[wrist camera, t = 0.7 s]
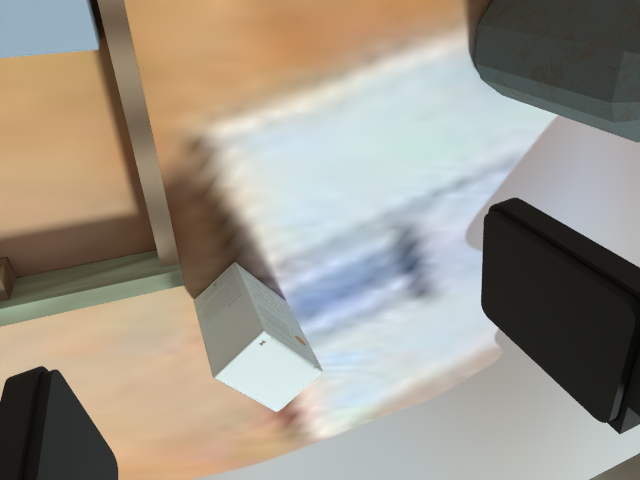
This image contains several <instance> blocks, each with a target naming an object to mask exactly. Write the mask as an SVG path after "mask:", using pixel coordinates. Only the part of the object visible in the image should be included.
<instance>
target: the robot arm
mask: <svg viewBox="0 0 640 480" xmlns="http://www.w3.org/2000/svg"><path fill="white" fill-rule="evenodd" d="M481 305H482V309H483V311H484V313H485V315H486V316H487V317H488V318H489V319H490V320H491V321H492V322H493V323H494V324H495V325H496V326H497V327H498V328H499V329H501V330H502V331H503V332H504V333H505V334H506V335H507V336H508V337H509V338H510V339H511V340H512V341H513V342H514V343H515V344H516V345H518V346H519V347H520V348H521V349H522V350H523V351H524V352H525V353H526V354H527V355H528V356H529V357H530V358H531V359H532V360H534V361H535V362H536V363H537V364H538V365H539V366H540V367H541V368H542V369H543V370H544V371H545V372H546V373H547V374H549V375H550V376H551V377H552V378H553V379H554V380H555V381H556V382H557V383H558V384H559V385H560V386H561V387H562V388H563V389H564V390H565V391H567V392H568V393H569V394H570V395H571V396H572V397H573V398H574V399H575V400H576V401H577V402H578V403H579V404H580V405H581V406H583V407H584V408H585V409H586V410H587V411H588V412H589V413H590V414H591V415H592V416H593V417H594V418H596V419H597V420H598V421H600V422H604V423H606V422H607V423H608V424H609V425H610V426H611V427H613V428H614V429H615V430H616V431H617V432H618V433H619V434H621V433H623V432H625V431H627V430H629V429H631V428H633V427H635V426H637V425H639V424H640V268H639V267H638V266H636V265H634V264H632V263H631V262H629V261H627V260H625V259H624V258H622V257H620V256H618V255H617V254H615V253H613V252H611V251H610V250H608V249H606V248H604V247H603V246H601V245H599V244H598V243H596V242H594V241H592V240H591V239H589V238H587V237H585V236H584V235H582V234H580V233H578V232H577V231H575V230H573V229H571V228H570V227H568V226H566V225H565V224H563V223H561V222H559V221H558V220H555V219H554V218H552V217H551V216H549V215H547V214H545V213H544V212H542V211H540V210H538V209H537V208H535V207H533V206H532V205H530V204H528V203H526V202H524V201H523V200H521V199H519V198H511V199H508V200H506V201H503V202H500V203H497V204H494V205H492V206H491V207H490V209H489V212H488V214H487V215H486V216H485V217H484V233H483V262H482V292H481ZM0 480H118V466H117V462H116V458H115V456H114V454H113V452H112V450H111V449H110V447H109V446H108V444H107V443H106V441H105V440H104V438H103V437H102V435H101V433H100V432H99V430H98V429H97V427H96V426H95V424H94V423H93V421H92V420H91V418H90V417H89V415H88V414H87V412H86V411H85V409H84V408H83V406H82V405H81V403H80V402H79V400H78V399H77V397H76V396H75V394H74V393H73V391H72V389H71V388H70V386H69V385H68V383H67V382H66V380H65V379H64V377H63V376H62V374H61V373H60V372H59V371H58V370H52V371H48V370H47V369H46V368H45V367H43V366H40V367H37V368H34V369H32V370H29V371H26V372H23V373H20V374H17V375H15V376H12V377H9V378H8V379H7V380H6V382H5V385H4V389H3V393H2V397H1V401H0ZM590 480H640V453H639V454H637V455H636V456H634V457H632V458H630V459H628V460H626V461H624V462H622V463H620V464H618V465H616V466H615V467H613V468H611V469H609V470H607V471H605V472H603V473H601V474H599V475H597V476H595V477H594V478H592V479H590Z"/></svg>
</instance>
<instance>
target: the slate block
mask: <svg viewBox="0 0 640 480" xmlns="http://www.w3.org/2000/svg"><path fill="white" fill-rule="evenodd" d="M99 44H100V35H99V31H98V27H97V23H96V19H95V15H94V11H93V6H92V2H91V0H0V58H5V57H17V56H29V55H41V54H52V53H64V52H76V51H88V50H99Z"/></svg>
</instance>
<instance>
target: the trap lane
mask: <svg viewBox="0 0 640 480" xmlns="http://www.w3.org/2000/svg"><path fill="white" fill-rule="evenodd" d="M97 2H98V6H99V10H100V14H101V18H102V22H103V27H104V31H105V35H106V39H107V43H108V47H109V52H110V56H111V60H112V64H113V68H114V72H115V77H116V81H117V85H118V89H119V93H120V97H121V102H122V106H123V110H124V114H125V118H126V122H127V127H128V131H129V135H130V139H131V143H132V147H133V152H134V156H135V160H136V164H137V168H138V173H139V177H140V181H141V185H142V189H143V193H144V198H145V202H146V206H147V210H148V214H149V218H150V223H151V227H152V231H153V235H154V239H155V243H156V248H157V250H154V251H149V252H144V253H139V254H134V255H129V256H124V257H119V258H114V259H109V260H104V261H99V262H95V263H90V264H85V265H80V266H75V267H70V268H65V269H60V270H55V271H50V272H45V273H40V274H35V275H30V276H25V277H20V278H16V276H15V274H14V272H13V269H12V267H11V265H10V263H9V260H8V258H7V257H6V258H0V327H1V326H5V325H10V324H14V323H18V322H23V321H27V320H32V319H36V318H41V317H45V316H50V315H54V314H58V313H63V312H67V311H72V310H76V309H81V308H85V307H90V306H94V305H99V304H103V303H107V302H112V301H116V300H121V299H125V298H130V297H134V296H139V295H143V294H148V293H152V292H156V291H161V290H165V289H170V288H174V287H179V286H183V285H185V284H184V279H183V275H182V270H181V265H180V261H179V256H178V251H177V247H176V242H175V237H174V233H173V228H172V223H171V219H170V214H169V209H168V205H167V200H166V195H165V191H164V186H163V181H162V177H161V172H160V167H159V163H158V158H157V153H156V149H155V144H154V140H153V135H152V130H151V126H150V121H149V116H148V112H147V107H146V102H145V98H144V93H143V88H142V84H141V79H140V74H139V70H138V65H137V60H136V56H135V51H134V46H133V42H132V37H131V32H130V28H129V23H128V18H127V14H126V9H125V4H124V0H97Z"/></svg>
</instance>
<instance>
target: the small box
mask: <svg viewBox="0 0 640 480" xmlns="http://www.w3.org/2000/svg"><path fill="white" fill-rule="evenodd" d="M194 305H195V309H196V313H197V317H198V321H199V325H200V328H201V332H202V336H203V340H204V344H205V348H206V352H207V356H208V359H209V363H210V367H211V371H212V375H213V378H215V379H217V380H218V381H220V382H222V383H224V384H226V385H228V386H229V387H231V388H233V389H235V390H237V391H239V392H241V393H242V394H244V395H246V396H248V397H250V398H252V399H253V400H255V401H257V402H259V403H261V404H262V405H264V406H266V407H268V408H270V409H272V410H273V411H275V412H278V411H279V410H280V409H282V408H283V407H284V406H285V405H286V404H287V403H288V402H290V401H291V400H292V399H293V398H294V397H295V396H296V395H297V394H299V393H300V392H301V391H302V390H303V389H304V388H305V387H306V386H308V385H309V384H310V383H311V382H312V381H313V380H314V379H315V378H317V377H318V376H319V375H320V374H321V373H322V371H323V370H322V368H321V366H320V364H319V362H318V360H317V358H316V357H315V355H314V353H313V351H312V349H311V347H310V345H309V343H308V341H307V339H306V337H305V336H304V334H303V332H302V330H301V328H300V326H299V324H298V322H297V320H296V318H295V316H294V315H293V313H292V311H291V309H290V307H289V305H288V303H287V302H286V301H285V300H284V299H282V298H281V297H280V296H278V295H277V294H276V293H274V292H273V291H272V290H271V289H269V288H268V287H267V286H265V285H264V284H263V283H262V282H260V281H259V280H258V279H256V278H255V277H254V276H252V275H251V274H250V273H248V272H247V271H246V270H245V269H243V268H242V267H241V266H240V265H238V264H237V263H236V262H234V263H233V264H232V265H231V266H229V267H228V268H227V269H226V270H225V271H224V272H223V273H222V274H221V275H220V276H219V277H218V278H217V279H216V280H215V281H214V282H213V283H212V284H211V285H209V286H208V287H207V288H206V289H205V290H204V291H203V292H202V293H201V294H200V295H199V296H198V297H197V298H196V299H195V300H194Z"/></svg>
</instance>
